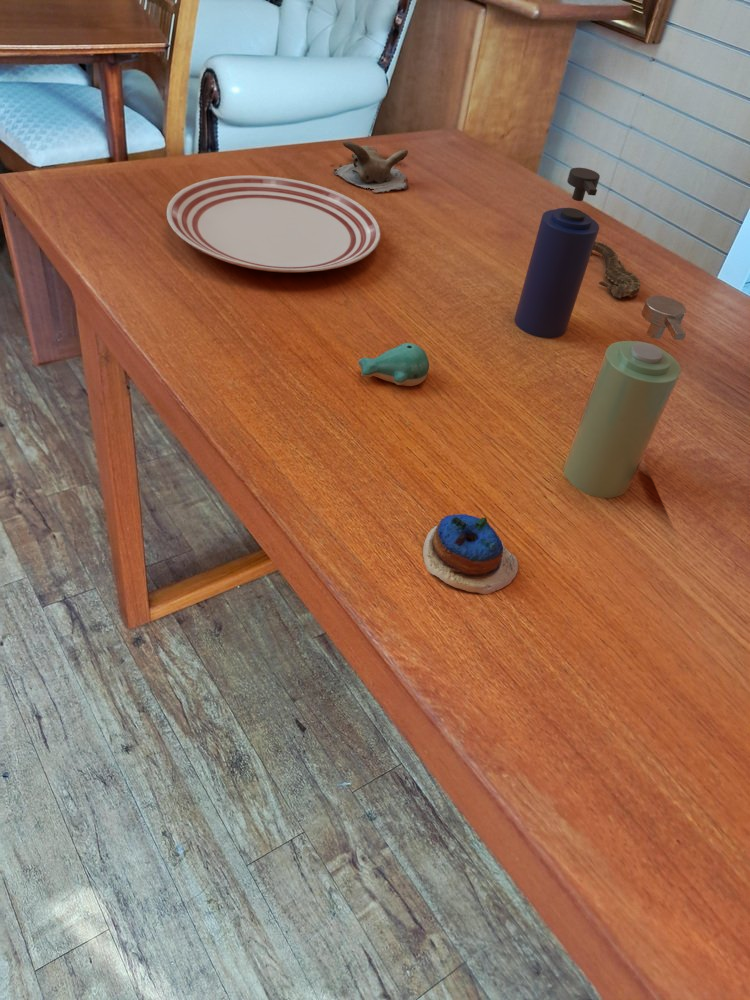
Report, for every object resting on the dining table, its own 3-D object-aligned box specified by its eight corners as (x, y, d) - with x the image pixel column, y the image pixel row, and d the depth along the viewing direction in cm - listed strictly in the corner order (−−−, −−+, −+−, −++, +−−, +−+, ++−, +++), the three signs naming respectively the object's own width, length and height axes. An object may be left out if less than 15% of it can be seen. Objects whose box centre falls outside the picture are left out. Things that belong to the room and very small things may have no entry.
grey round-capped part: (666, 327, 67) (678, 297, 65) (688, 363, 63) (702, 332, 61) (630, 323, 66) (641, 293, 64) (649, 360, 62) (662, 329, 60)
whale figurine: (430, 393, 82) (437, 363, 80) (361, 392, 81) (366, 361, 79) (420, 362, 87) (426, 332, 84) (354, 361, 85) (358, 330, 83)
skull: (415, 195, 123) (424, 155, 120) (352, 191, 117) (360, 150, 114) (382, 173, 130) (390, 135, 126) (321, 169, 124) (327, 129, 120)
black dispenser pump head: (588, 194, 87) (595, 169, 85) (600, 215, 83) (609, 189, 81) (560, 191, 87) (567, 165, 85) (571, 212, 83) (579, 186, 81)
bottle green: (619, 456, 78) (671, 333, 69) (637, 500, 74) (696, 375, 64) (556, 452, 78) (601, 327, 68) (571, 496, 73) (621, 368, 64)
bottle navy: (560, 313, 99) (594, 203, 89) (571, 340, 94) (608, 227, 85) (510, 308, 98) (539, 197, 89) (519, 336, 94) (551, 221, 84)
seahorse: (600, 248, 114) (603, 236, 113) (648, 301, 104) (652, 288, 103) (564, 251, 113) (567, 239, 112) (609, 304, 103) (613, 291, 102)
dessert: (402, 558, 64) (438, 494, 62) (426, 552, 70) (459, 494, 69) (486, 613, 61) (525, 548, 60) (503, 602, 67) (539, 543, 66)
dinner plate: (392, 219, 114) (396, 196, 111) (356, 309, 94) (359, 283, 91) (208, 183, 115) (208, 160, 113) (133, 265, 95) (131, 238, 93)
